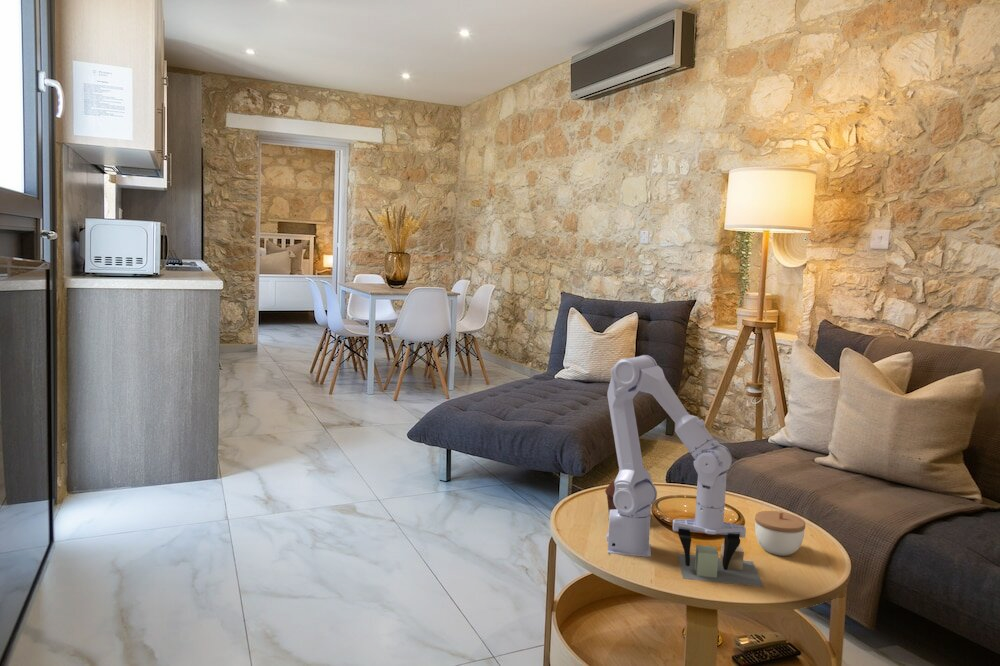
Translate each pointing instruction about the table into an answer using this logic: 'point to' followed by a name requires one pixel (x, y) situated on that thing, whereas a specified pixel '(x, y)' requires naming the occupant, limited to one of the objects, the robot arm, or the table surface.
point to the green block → (706, 561)
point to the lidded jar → (779, 532)
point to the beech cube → (734, 558)
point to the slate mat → (723, 573)
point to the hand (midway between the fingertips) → (706, 565)
